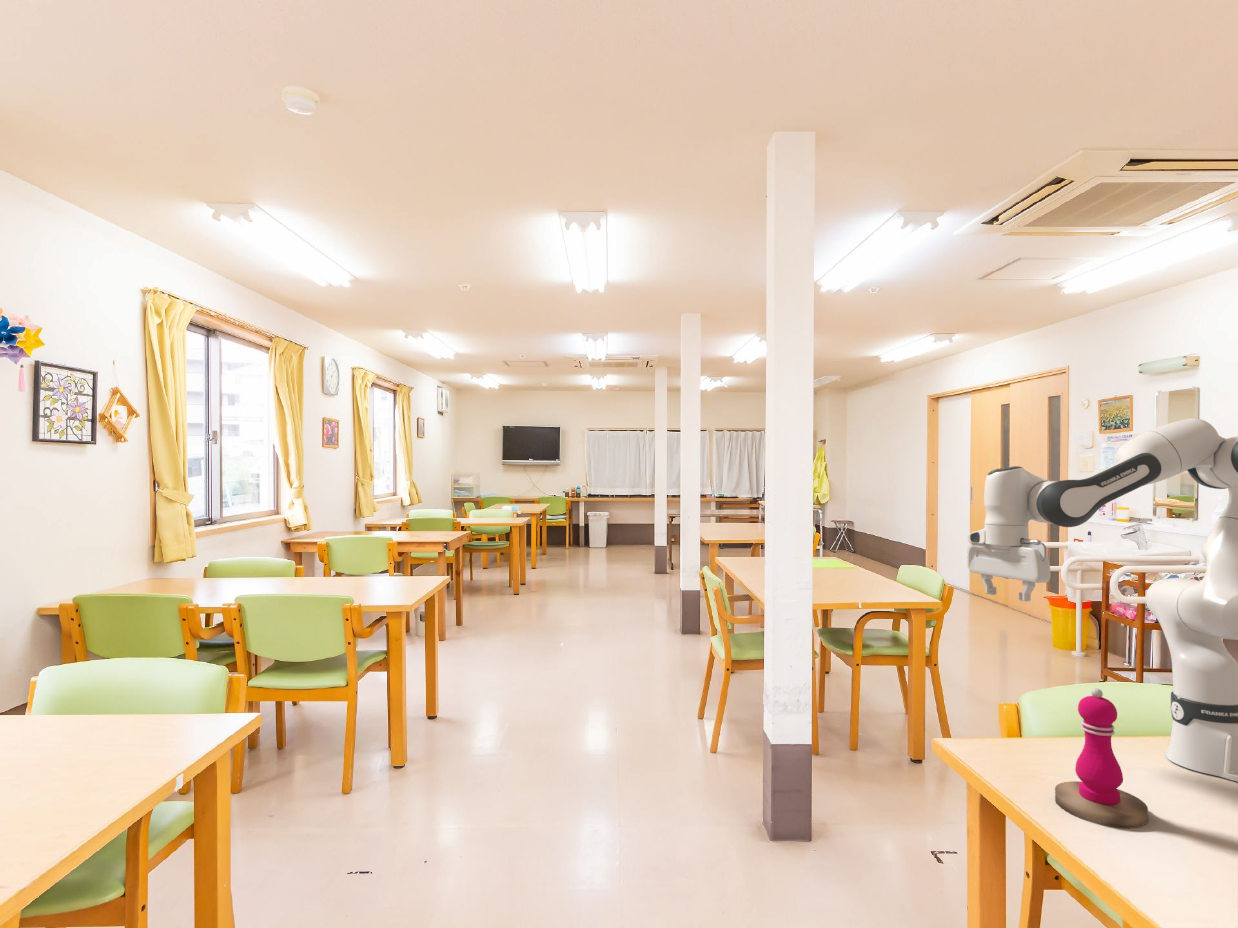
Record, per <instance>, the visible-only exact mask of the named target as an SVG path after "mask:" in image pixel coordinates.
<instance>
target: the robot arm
mask: <svg viewBox="0 0 1238 928" xmlns="http://www.w3.org/2000/svg"><path fill="white" fill-rule="evenodd" d="M1186 471H1187V472H1188V474H1189V475H1190V477H1191V478H1192V479H1193V480H1194V481H1195V482H1196V483H1198V484H1200V485H1201V486H1203V487H1206V488H1210V489H1214V490H1215V489H1217V490H1225V489H1228V500H1227V504H1226V506H1225V508H1224V509H1223V510H1222V512H1221V514H1220V516H1219V517H1218V519H1217V521H1216V522H1215V523H1214V525H1213V527H1212V529H1211V531H1210V532H1209V533H1208V535H1207V537H1206V539H1205V541H1204V542H1203V544H1202V545H1201V555H1202V556H1203V558H1204V559H1205V560H1206V569H1205V573H1204V576H1203V578H1202V579H1200V580H1197V579H1191V578H1186V577H1173V578H1172V577H1170V578H1162V579H1159V580H1157V581H1155V582H1153V583H1152V584H1151V585H1150V586H1149V587H1148V588H1147V591H1146V594H1145V602H1146V605H1147V608H1148V609H1149V611H1150V612H1151V614H1152V615H1153V616H1154V617H1155V618H1156V619H1157V622H1158V623H1159V625H1160V627H1161V629H1162V632H1163V635H1164V637H1165V640H1166V643H1167V647H1168V649H1169V650H1168V651H1169V653H1170V659H1171V660H1170V661H1171V671H1172V673H1171V674H1172V691H1171V692H1170V714H1171V717H1172V720H1171V721H1172V724H1171V733H1170V736H1169V737H1170V738H1169V741H1168V745H1167V748H1166V751H1165V754H1164V756H1165V758H1166V759H1167V760H1169V761H1170V762H1173V763H1174V764H1176V765H1178V766H1181V767H1183V768H1186V769H1189V770H1192V771H1196V772H1198V773H1203V774H1206V775H1211V776H1215V777H1220V778H1223V779H1227V780H1230V781H1232V782H1237V783H1238V661H1237V660H1236V659H1235V658H1234V657H1233V656H1232V654H1231V653H1230V652H1229V651H1228V649H1227V648H1226V645H1225V643H1224V641H1223V639H1224V640H1236V641H1238V435H1237V436H1231V437H1227V438H1226V437H1222V436H1221V435H1219V433H1218V431H1217V429H1216V428H1215V427H1214V426H1213V425H1212V424H1211V423H1209V421H1206V420H1205V419H1201V418H1197V417H1196V418H1195V417H1189V418H1184V419H1179V420H1177V421H1172V422H1169V423H1165V424H1163V425H1159V426H1158V427H1155V428H1152V429H1149V430H1148V431H1145V432H1143V433H1140V434H1138V435H1136V436H1134V437H1132V438H1131V439H1129V440H1127V441H1126V442H1125V443H1123V444H1121V446H1119V447H1118V449H1117V450H1116V454H1115V464H1114V465H1112V466H1109V467H1107V468H1105V469H1103V470H1101V471H1099V472H1097V473H1094V474H1092V475H1090V476H1089V477H1086V478H1082V479H1064V480H1048V479H1045V478H1042V477H1040V476H1037V475H1036V474H1033V473H1031V472H1029V471H1027V469H1025V468H1024V467H1023V466H1020V465H1019V466H1016V465H1015V466H1014V465H1013V466H1007V467H1001V468H996V469H993V470H991V471H990V472H987V475H986V476H985V481H984V490H983V492H984V493H983V494H984V495H983V507H984V509H985V518H984V527H983V528H982V529H979V530H976V531H972V532H969V533H968V534H967V542H969V544H968V546H967V551H966V554H967V555H966V561H967V562H966V563H967V568H968V570H969V572H970V573H972V574H980V577H981V578H980V579H981V581H982V584H983V585H984V587H985V594H987V595H992V596H993V595H994V596H995V595H997V586H994V583H993V581H992V580H993V579H994V577H999V578H1003V579H1004V578H1005V579H1012V580H1016V581H1021V582H1022V586H1024V587H1023V589H1022V591H1021V592H1018V599H1019V601H1022V602H1031V600H1032V599H1031V595H1032V592H1033V591H1034V589H1035V588H1036V584H1038V583H1039V584H1040V583H1041V584H1042V583H1043V584H1044V583H1049V582H1050V579H1051V576H1052V575H1051V566H1050V565H1051V564H1050V560H1049V554H1048V548H1047V546H1046V545H1045V544H1044V543H1043V542H1042V540H1039V539H1030V537H1029V534H1030V533H1029V532H1030V531H1029V522H1030V521H1031V520H1032V521H1035V522H1037V523H1038V522H1039V523H1043V524H1044V523H1045V524H1049V525H1056V526H1058V527H1062V528H1063V527H1064V528H1074V527H1078V526H1080V525H1083V524H1085V523H1086V522H1088V521H1089V520H1090V519H1091V518H1092V517H1093V516H1094V515H1095V513H1097V511H1099V510H1100V509H1101V508H1102V507H1103V506H1104V505H1106V504H1108V503H1110V502H1112V501H1114V500H1116V499H1118V498H1120V497H1122V496H1124V495H1126V494H1128V493H1131V492H1133V491H1135V490H1137V489H1139V488H1141V487H1143V486H1147V485H1151V484H1155V483H1159V482H1161V481H1164V480H1167V479H1170V478H1172V477H1174V476H1177V475H1179V474H1182V473H1184V472H1186Z"/></svg>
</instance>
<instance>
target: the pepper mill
mask: <svg viewBox="0 0 1238 928" xmlns="http://www.w3.org/2000/svg"><path fill="white" fill-rule="evenodd" d="M1090 693H1091V695H1088V696H1084V697H1083V698H1082V699H1080V701H1079V702H1078V705H1077V711H1078V714H1079V716H1080V717H1081V719H1083V720H1081V722H1080V723H1081V730H1083V731H1084V745H1083V748H1082V751H1081V752H1080V754H1079V755H1078V757H1077V760H1076V761H1075V762H1076V763H1075V773H1076V776H1077V777H1078V779H1079V780H1080V781H1079V782H1080V783H1079V794H1080V795H1081V796H1082V797H1083V798H1085V799H1087V800H1089V801H1092V802H1095V803H1099V804H1105V805H1116V804H1118V803H1120V791H1119V790H1120V789H1119V787H1121V785H1122V784H1123V782H1124V776H1123V771H1122V768H1121V766H1120V763H1119V762H1118V760H1117V758H1116V756H1115V754H1114V750H1113V746H1112V736H1113V735H1115V734H1116V733H1115V726H1114V725H1113V724H1114V723H1115V722H1116V721H1117V719H1118V710H1117V708H1116V706H1115V704H1114V703H1113V702H1112V701H1111V700H1109V699H1108V698H1105V697H1103V696H1104V693H1103V691H1102V689H1100V688H1098V687H1097V688H1092V689H1091V691H1090ZM1118 789H1119V790H1118Z"/></svg>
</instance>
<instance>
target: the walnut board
mask: <svg viewBox="0 0 1238 928" xmlns="http://www.w3.org/2000/svg"><path fill="white" fill-rule="evenodd" d="M1080 782H1081V781H1076V780H1075V781H1063V782H1060V783H1058V784H1056V785H1055V788H1054V798H1055V804H1056V805H1057V806H1058V805H1059V806H1060V807H1059V806H1058V807H1059V808H1060V809H1062V810H1063V809H1064V810H1063V811H1065V812H1066V813H1068V814H1070V815H1072V816H1074V817H1077V818H1079V819H1082V820H1084V821H1087V822H1091V823H1094V824H1097V825H1103V826H1108V827H1113V828H1119V829H1120V828H1121V829H1122V828H1123V829H1134V828H1140V827H1144V826H1146V825H1147V824H1149V823H1148V822H1149V807H1148V805H1147V804H1146V803H1145V802H1144V801H1143V800H1141V799H1140V798H1139V797H1137V796H1135V795H1133V794H1131V793H1129V792H1126V791H1124V790H1121V789H1119V788H1117V789H1118V790H1119V791H1120V803H1118V804H1116V805H1105V804H1099V803H1095V802H1092V801H1089V800H1087V799H1085V798H1083V797H1082V796H1081V795H1080V794H1079V783H1080Z"/></svg>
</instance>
